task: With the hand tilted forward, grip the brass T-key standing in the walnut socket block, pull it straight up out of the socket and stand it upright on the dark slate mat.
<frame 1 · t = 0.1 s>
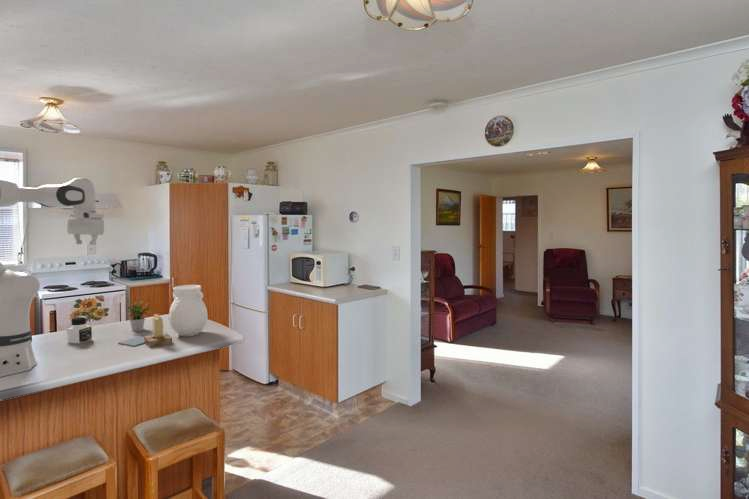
hand: (86, 244, 197), 48 cm above the countertop, tool pointing down, fingers open, 8 cm apart
slate mat: (136, 342, 208), on the countertop
white vase: (188, 334, 223), on the countertop
t key: (157, 329, 206), in the socket block
house plant: (136, 330, 229), on the countertop
socket block: (158, 343, 207), on the countertop
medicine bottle: (79, 341, 208), on the countertop
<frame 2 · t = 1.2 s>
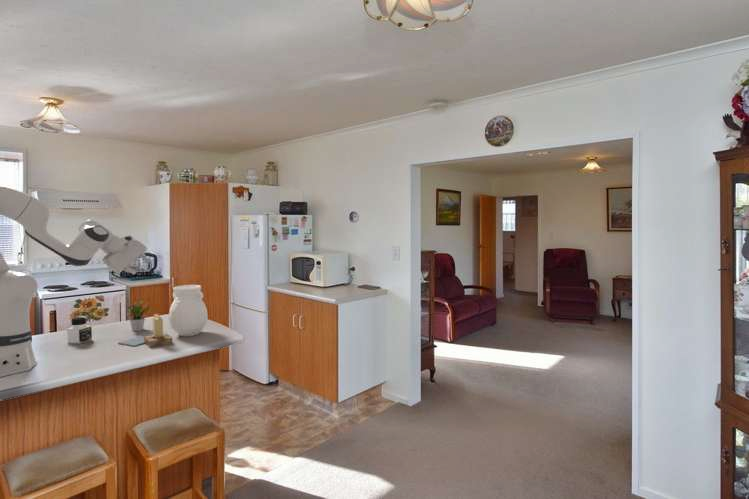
hand: (142, 267, 197), 38 cm above the countertop, tool tilted 50°, fingers open, 8 cm apart
nothing on the countertop moved.
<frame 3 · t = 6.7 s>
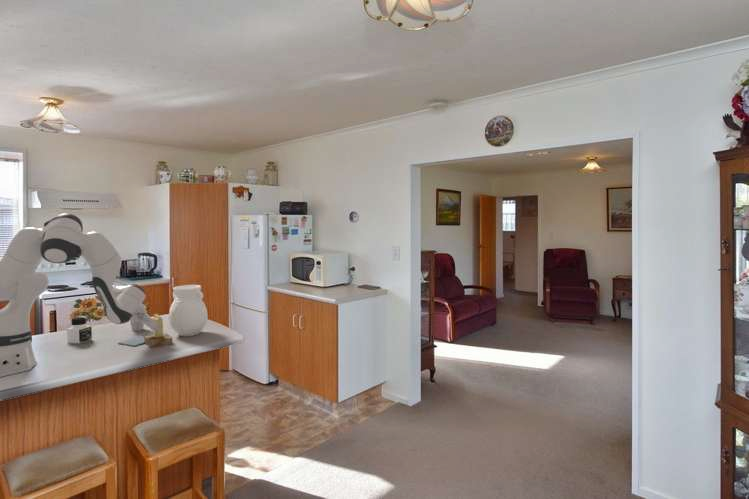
hand: (159, 329, 206), 7 cm above the countertop, tool tilted 45°, fingers closed on t key, 4 cm apart
t key: (157, 329, 206), in the socket block, touching gripper
everything else where it was.
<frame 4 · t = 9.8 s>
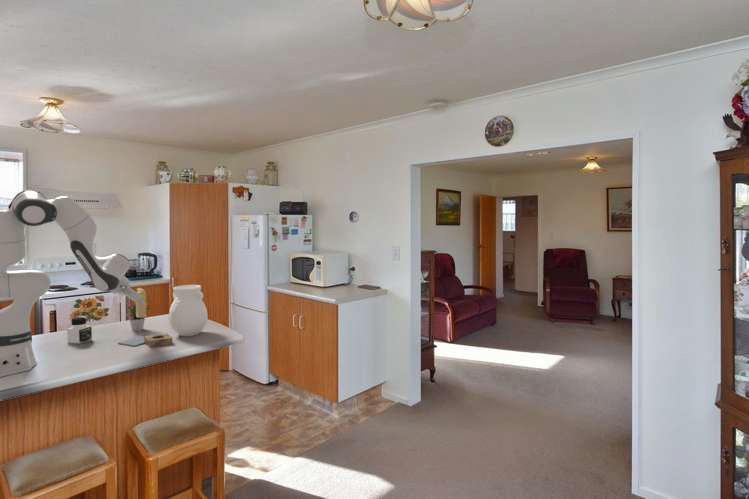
hand: (142, 302, 207), 19 cm above the countertop, tool tilted 45°, fingers closed on t key, 4 cm apart
t key: (140, 302, 207), point 19 cm above the countertop, touching gripper
everything else where it was.
when the fingers open (9 cm above the countertop, at t = 13.0 s): t key drops 1 cm, resting on slate mat.
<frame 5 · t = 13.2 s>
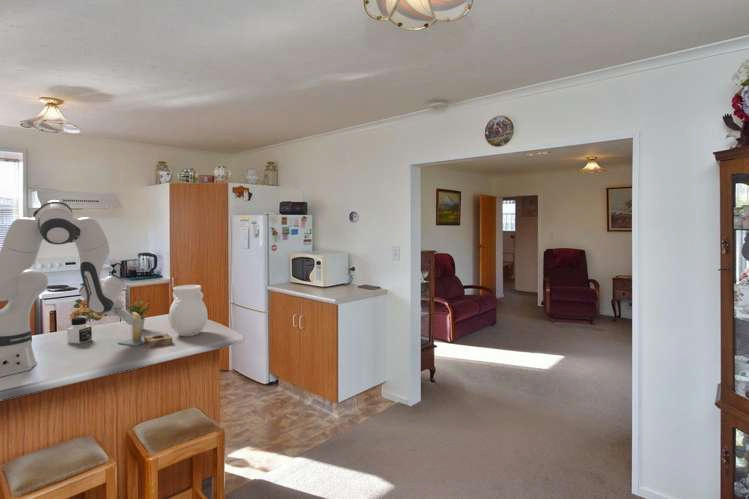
hand: (137, 324, 208), 9 cm above the countertop, tool tilted 45°, fingers open, 5 cm apart
t key: (136, 327, 207), on the slate mat, point 7 cm above the countertop
everything else where it was.
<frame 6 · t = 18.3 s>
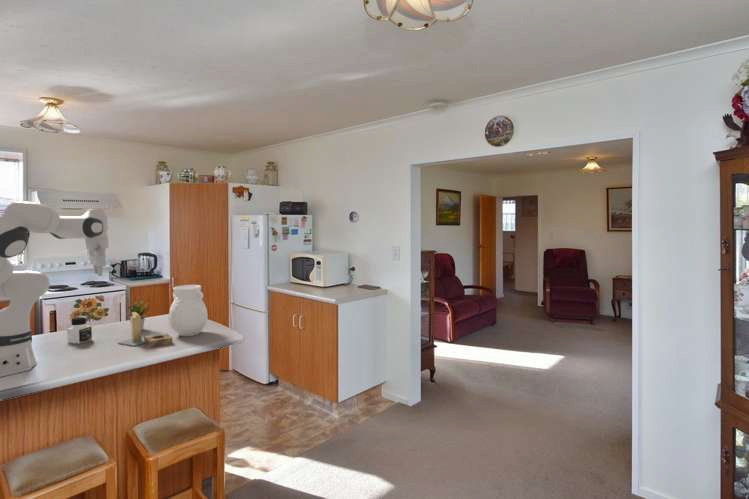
hand: (98, 274, 197), 34 cm above the countertop, tool pointing down, fingers open, 8 cm apart
nothing on the countertop moved.
at the end: t key inside the target area on the slate mat (0.0 cm from its centre), point 7.3 cm above the slate mat's base; t key tilted 0°; the gripper is holding nothing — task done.
